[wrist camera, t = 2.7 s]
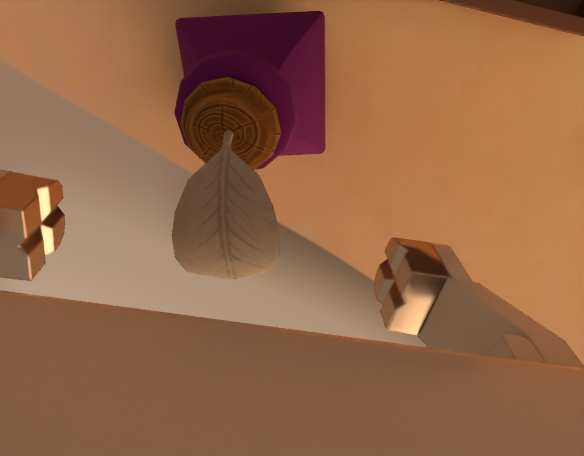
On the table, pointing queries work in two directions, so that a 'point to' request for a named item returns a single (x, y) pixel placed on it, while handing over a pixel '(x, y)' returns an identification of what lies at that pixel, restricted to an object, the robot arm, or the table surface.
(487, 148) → the table surface
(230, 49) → the perfume bottle
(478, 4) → the tray
